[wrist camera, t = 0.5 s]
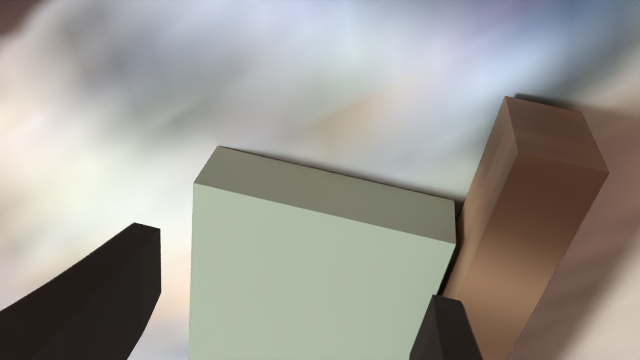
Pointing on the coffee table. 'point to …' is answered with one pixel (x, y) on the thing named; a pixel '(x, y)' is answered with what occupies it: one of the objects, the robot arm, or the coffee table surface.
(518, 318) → the folding leg
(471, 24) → the coffee table surface
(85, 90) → the coffee table surface
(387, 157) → the coffee table surface
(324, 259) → the stool seat
